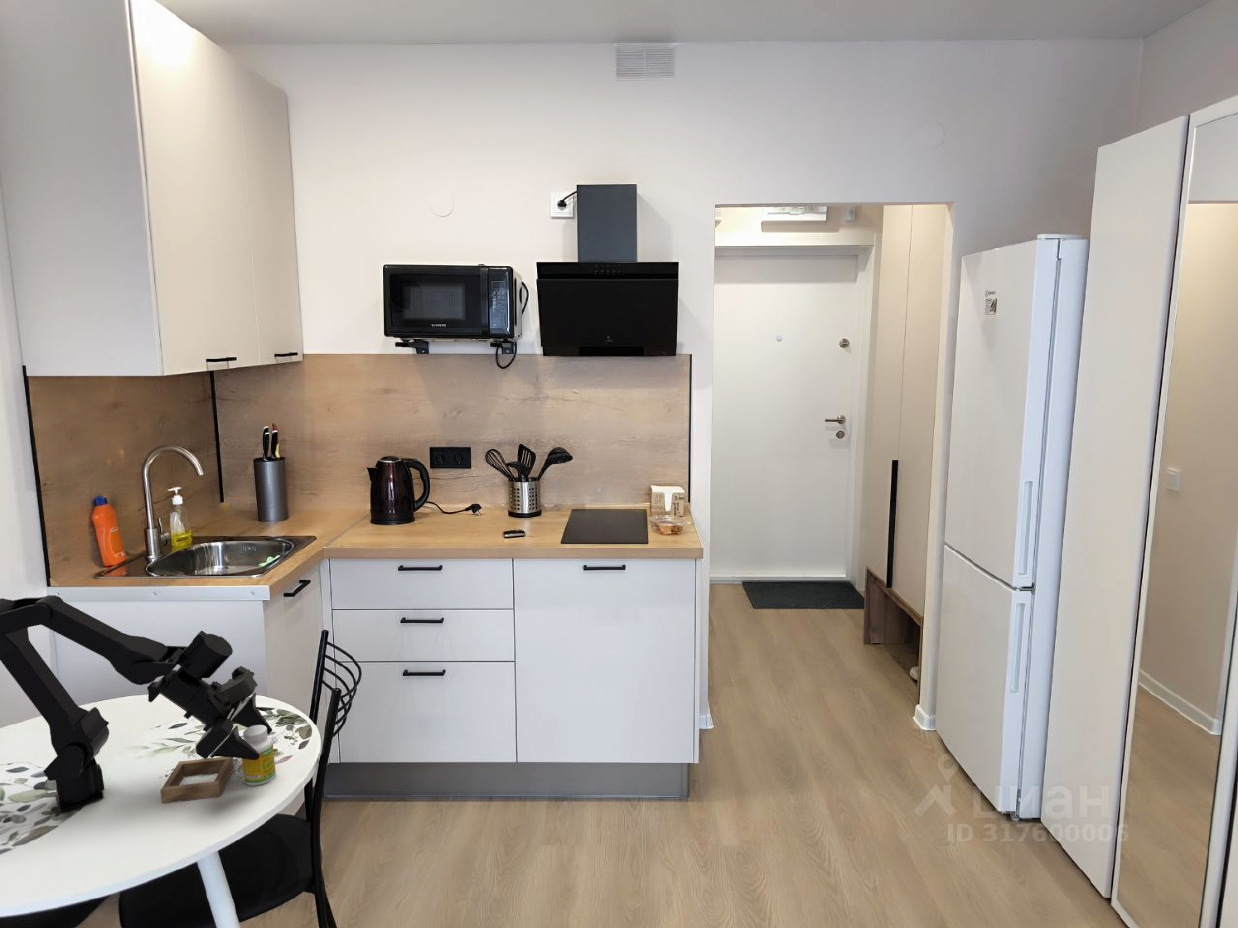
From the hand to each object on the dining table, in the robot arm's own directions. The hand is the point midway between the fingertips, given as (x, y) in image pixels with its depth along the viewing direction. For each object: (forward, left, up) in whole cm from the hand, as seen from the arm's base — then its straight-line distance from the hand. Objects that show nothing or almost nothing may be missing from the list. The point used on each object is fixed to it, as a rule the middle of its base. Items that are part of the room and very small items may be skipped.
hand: (264, 744), depth 149 cm
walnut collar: (-10, +6, -7) cm, 14 cm away
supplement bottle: (-1, +1, -7) cm, 7 cm away
